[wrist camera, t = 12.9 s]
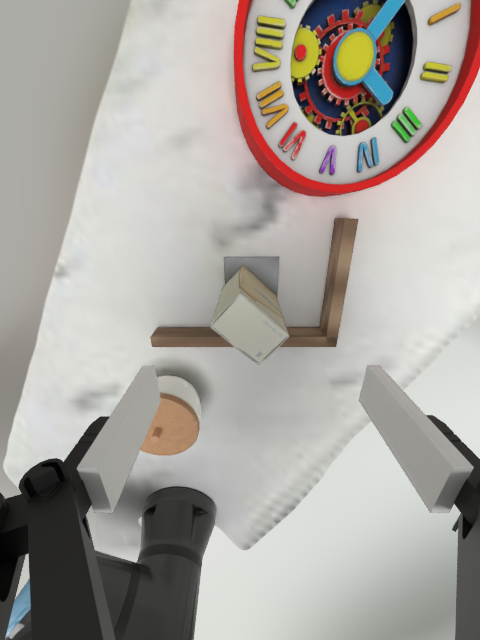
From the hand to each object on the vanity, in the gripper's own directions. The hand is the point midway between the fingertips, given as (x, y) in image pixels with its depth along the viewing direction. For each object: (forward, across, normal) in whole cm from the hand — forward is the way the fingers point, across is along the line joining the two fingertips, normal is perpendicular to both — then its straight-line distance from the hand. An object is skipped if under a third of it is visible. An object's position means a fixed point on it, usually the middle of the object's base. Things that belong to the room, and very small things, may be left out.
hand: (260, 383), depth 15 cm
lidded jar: (+20, +12, +17) cm, 29 cm away
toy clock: (+20, -8, -22) cm, 31 cm away
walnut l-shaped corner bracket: (+20, +1, -1) cm, 20 cm away
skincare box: (+19, 0, 0) cm, 19 cm away
